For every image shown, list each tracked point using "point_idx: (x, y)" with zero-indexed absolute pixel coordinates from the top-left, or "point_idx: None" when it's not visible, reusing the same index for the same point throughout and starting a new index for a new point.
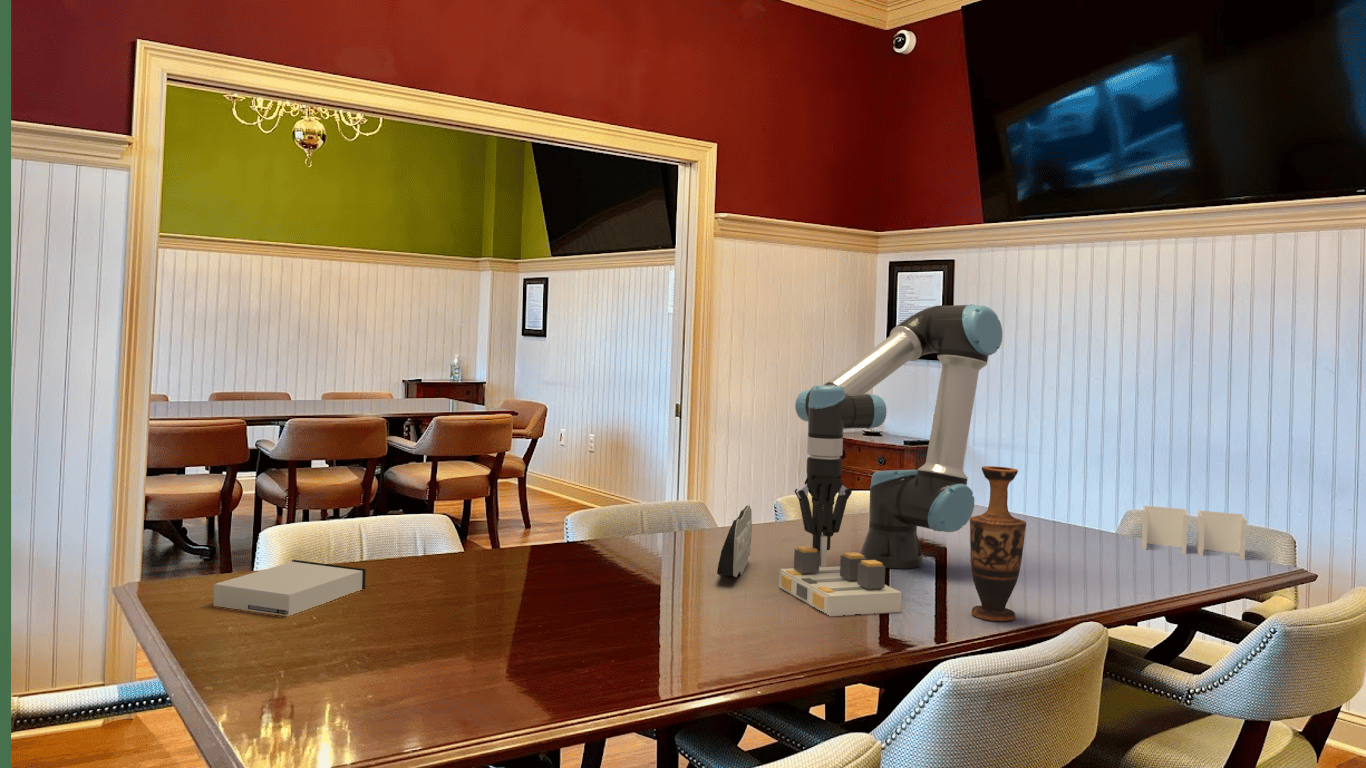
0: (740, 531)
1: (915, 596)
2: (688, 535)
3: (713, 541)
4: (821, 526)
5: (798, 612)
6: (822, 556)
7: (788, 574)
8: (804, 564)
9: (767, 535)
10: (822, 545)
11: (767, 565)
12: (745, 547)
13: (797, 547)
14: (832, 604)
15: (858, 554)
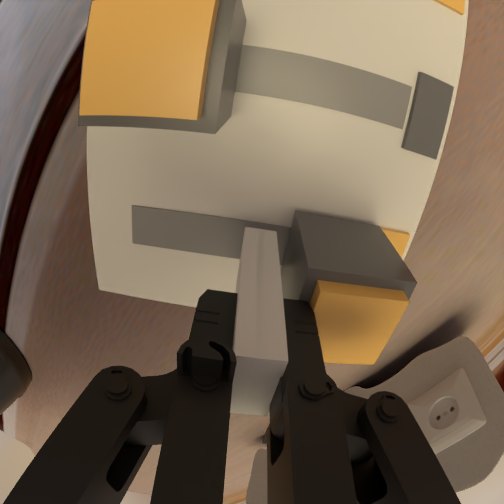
0: None
1: (3, 63)
2: (243, 499)
3: (228, 488)
4: (299, 449)
5: (490, 31)
6: (271, 260)
7: (402, 259)
8: (383, 244)
9: (138, 479)
10: (276, 307)
11: (230, 423)
12: None
13: (374, 359)
14: None
15: (111, 35)
